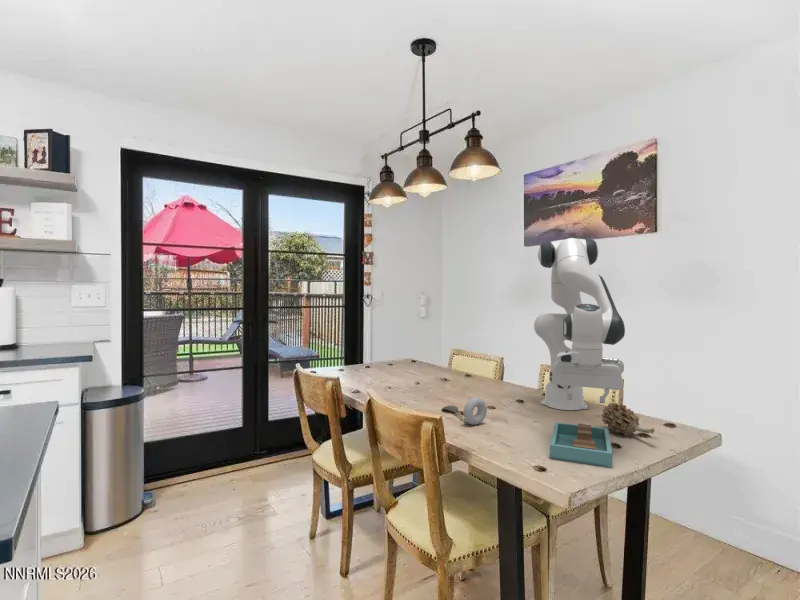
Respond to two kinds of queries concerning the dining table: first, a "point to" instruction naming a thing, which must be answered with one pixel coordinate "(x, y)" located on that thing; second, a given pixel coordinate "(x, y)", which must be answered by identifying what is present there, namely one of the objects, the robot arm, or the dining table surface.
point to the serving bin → (566, 452)
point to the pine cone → (622, 419)
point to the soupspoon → (454, 409)
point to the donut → (480, 412)
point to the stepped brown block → (584, 437)
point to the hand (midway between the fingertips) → (585, 401)
